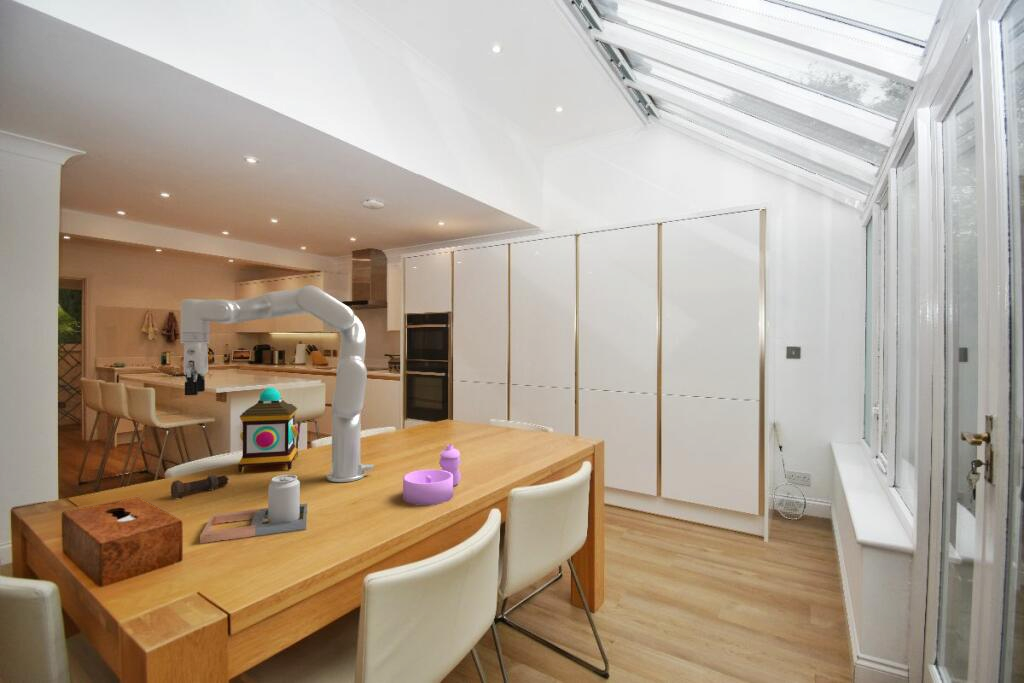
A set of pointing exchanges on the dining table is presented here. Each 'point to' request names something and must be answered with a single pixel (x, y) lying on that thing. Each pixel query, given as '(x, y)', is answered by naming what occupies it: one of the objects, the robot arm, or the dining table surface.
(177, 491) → the bolt
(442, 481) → the container set
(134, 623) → the dining table surface
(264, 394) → the decorative lantern
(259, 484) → the dining table surface
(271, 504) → the can
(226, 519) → the tray
